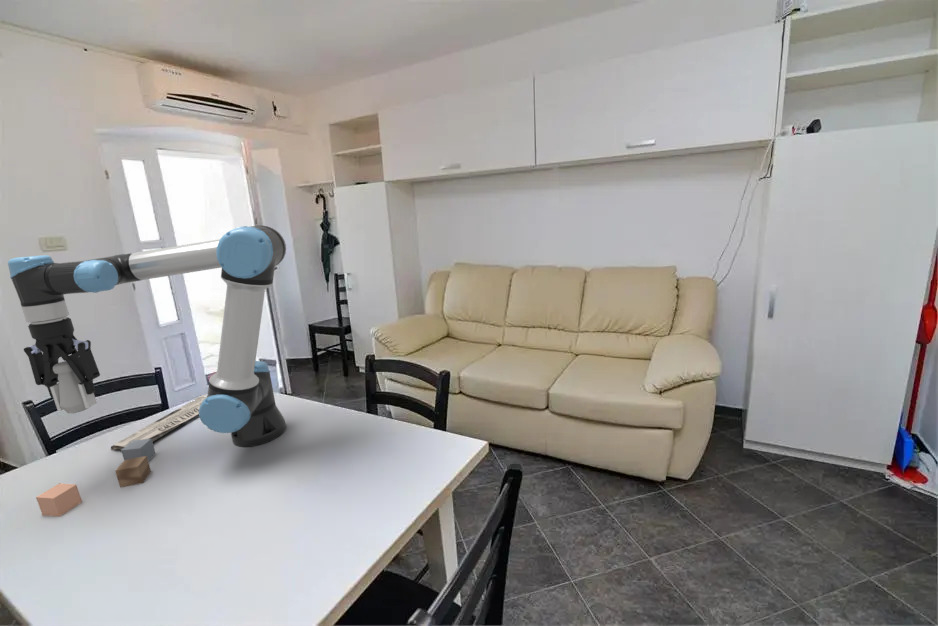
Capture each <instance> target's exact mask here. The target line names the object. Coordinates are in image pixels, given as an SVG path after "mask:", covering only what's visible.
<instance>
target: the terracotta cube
mask: <svg viewBox="0 0 938 626" xmlns="http://www.w3.org/2000/svg"><path fill="white" fill-rule="evenodd" d="M35 499H36V502H37V504H38V506H39V509H40V512H41V515H42V516H48V517H49V516H51V517H62V516H63V515H65V514H66V513H67V512H69V511H71V510H72V509H73V508H76V506H78V505H80V504H82V502H83V500H82V497H81V495H80V491H79V489H78V485H77V484H74V483H58V484H56V485H54V486H53V487H51V488H49V489H47V490H46V491H44V492H43V493H40V494H39V495H37V496H36V497H35Z"/></svg>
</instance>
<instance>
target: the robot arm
mask: <svg viewBox="0 0 938 626" xmlns="http://www.w3.org/2000/svg"><path fill="white" fill-rule="evenodd" d="M286 253H287V244H286V241H285V239H284V237H283V236H282V235H281V233H280V232H278V231H277V230H276V229H274V228H273V227H270V226H268V225H261V224H259V225H252V226H247V225H246V226H245V225H243V226H239V227H235V228H233V229H231V230H229V231H227V232H226V233H224V234H223V235H222V237H221V238H219V239H215V240H213V239H212V240H207V241H200V242H195V243H194V242H193V243H189V244H181V245H176V246H170V247H169V246H168V247H163V248H162V247H161V248H155V249H150V250H143V251H138V252H137V251H136V252H132V253H131V252H130V253H122V254H115V255H112V256H105V257H99V258H93V259H86V260H85V259H84V260H79V261H71V262H70V261H69V262H60V263H59V262H54V260H53V258H52V257H51V256H50V255H48V254H44V255H43V254H41V255H29V256H21V257H20V256H19V257H13V258H11V259H9V260H8V261H7V266H8V270H9V274H10V275H9V276H10V279H11V282H12V283H13V286H14V289H15V291H16V293H17V296H18V299H19V301H20V302H19V303H20V307H21V309H22V313H23V316H24V319H25V321H26V323H29V324H28V326H27V327H28V330H29V333H30V336H31V338H32V339H33V340H35V344H32V345H29V346H26V347H24V348H23V352H24V353H25V354H26V356H27V357H28V360H29V365H30V367H31V372H32V375H33V379H34V382H35V384H36V385H37V386H42V385H43V386H44V387H46V388H47V391H48V393H49V396H50V397H51V399H53V400H54V404H55V407H56V409H57V412H61V411H64V410H63V409H62V408H61V406H60V395H59V380H58V374H55V373H54V371H53V366H54V365H55V364H57V363H59V359H60V358H61V359H62V360H63V362H64V361H67V363H68V364H69V366H70V367H71V369H72V370H73V371H74V373H75V374H76V376H77V377H78V379H79V380H80V381H81V382H80V383H79V384H78V386H79V389H80V393H81V396H82V399H83V402H84V405H85V408H88V409H89V408H91V407H92V406H94V405H96V404H97V403H98V402H97V399H96V396H95V392H96V388H95V385H94V380H95V379H96V378H99V377H100V376H101V373H100V371H99V368H98V365H97V363H96V361H95V357H94V355H93V352H92V349H91V348H92V347H91V346H92V342H91V340H89V339H85V340H79V339H77V337H76V336H75V335H74V333H75V328H74V324H73V321H72V319H71V318H70V317H68V316H69V315H70V312H69V309H68V306H67V302H66V299H65V296H64V295H72V294H85V293H87V294H88V293H93V294H94V293H97V294H98V293H100V292H105V291H110V290H113V289H114V288H115V286H118V285H123V284H129V283H134V282H135V283H136V282H140V281H144V280H150V279H151V280H153V279H157V278H158V279H159V278H164V277H170V276H176V275H184V274H189V273H194V272H195V273H197V272H201V271H202V272H203V271H207V270H215V269H220V268H221V272H220V278H221V280H222V281H223V282H224V283H225V284H226V292H225V302H224V309H223V319H222V327H221V333H220V335H221V336H220V344H219V352H218V353H219V354H218V360H217V367H216V368H217V369H216V372H214V374H212V375H210V377H209V380H208V386H207V387H208V388H207V394H206V395H207V398H206V399H204V400H203V402H202V403H201V405H200V408H199V414H198V417H199V420H200V421H201V423H202V424H203V425H205V426H206V427H207V429H208V430H211V431H213V432H215V433H220V434H230V435H231V436H230V437H231V441H232V443H233V444H234V445H236V447H237V446H238V447H243V448H244V447H245V448H248V447H254V446H260V445H263V444H266V443H268V442H271V441H273V440H275V439H276V438H278V437H280V436H281V435H282V434H284V432H285V431H286V430H287V424H286V419H285V417H284V416H283V414H282V413H281V411H280V410H279V408H278V407H277V405H276V399H275V394H274V389H273V383H272V378H271V371H270V369H269V364H268V363H267V362H266V361H262V360H257V359H256V358H257V353H258V352H257V351H258V347H259V346H258V345H259V336H260V331H261V323H262V314H263V308H264V300H265V293H266V290H267V289H268V288H270V287H271V286H272V285H273V283H274V275H275V269H276V267H277V266H278V265H280V263H282V262H283V260H284V258H285V256H286Z"/></svg>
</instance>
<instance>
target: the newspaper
mask: <svg viewBox="0 0 938 626" xmlns="http://www.w3.org/2000/svg"><path fill="white" fill-rule="evenodd" d="M207 395H208V394H205V395H204V394H203V395H199V396H198V397H196V398H195V399H193V400H195V401H193V400H191V401H192V402H191V401H189V402H186V404H184V405H182V406H180V407H178V408H176V409H174V410H173V411H171V412H170V413H168V414H166V415H165V416H164V415H163V416H162V417H161V418H159V419H157V420H155V421H154V422H152V423H150V424H148V425H147V426H145V427H143V428H141V429H139V430H137V431H136V432H134V433H132V434H131V435H128V436H127V437H125V438H123V439H122V440H119V441H118V442H116V443H115V444H113V445H111V446H110V450H111V451H113V450H122V449H123V448H124V447H126V446H127V445H128V444H129V443H131V442H132V441H134V440H143V439H152V442H153V443H154V442H155V441H157V440H159V439H160V438H161V437H163V436H164V435H166V434H168V433H169V432H172V431H173V430H175V429H176V428H179V427H180V426H182V425H183V424H185V423H186V422H188V421H190V420H192V419H193V418H195V417H197V416H199V408H200V405H201V403H202V402H203V400H204V399H206V398H207ZM204 396H206V397H204Z"/></svg>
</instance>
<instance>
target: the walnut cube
mask: <svg viewBox="0 0 938 626" xmlns="http://www.w3.org/2000/svg"><path fill="white" fill-rule="evenodd" d="M114 472H115V475H116V479H117V481H118V485H119V487H120V488H125V487H129V486H136V485H139V484H143V483H144V482H145V481H146V479H147V478H148V477H149V476H150V474H151V473H152V470H151V466H150V463H149V460H148V459H147V456H143V457H138V458H132V459H127V460H124V459H123V461H122V463H121V464H119V466H118V467H117V468H116V469H115V470H114Z"/></svg>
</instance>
